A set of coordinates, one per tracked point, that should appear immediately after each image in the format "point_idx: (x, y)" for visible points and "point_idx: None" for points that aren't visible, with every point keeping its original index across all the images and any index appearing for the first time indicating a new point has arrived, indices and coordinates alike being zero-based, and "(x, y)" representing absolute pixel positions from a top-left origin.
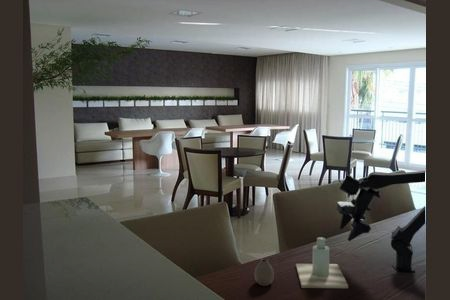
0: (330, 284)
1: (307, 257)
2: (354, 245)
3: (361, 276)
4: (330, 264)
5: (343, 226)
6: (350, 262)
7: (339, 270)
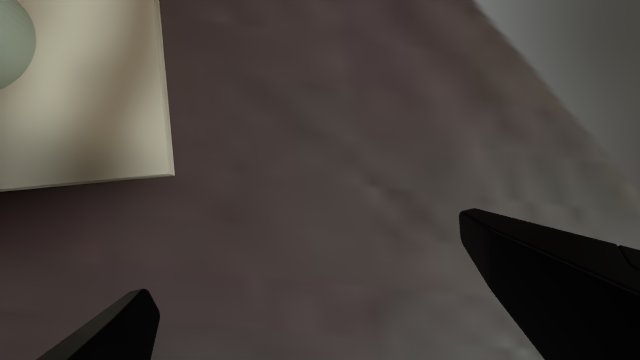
0: None
1: (311, 8)
2: None
3: (22, 323)
4: (156, 126)
5: (486, 270)
6: (263, 269)
7: (44, 177)
